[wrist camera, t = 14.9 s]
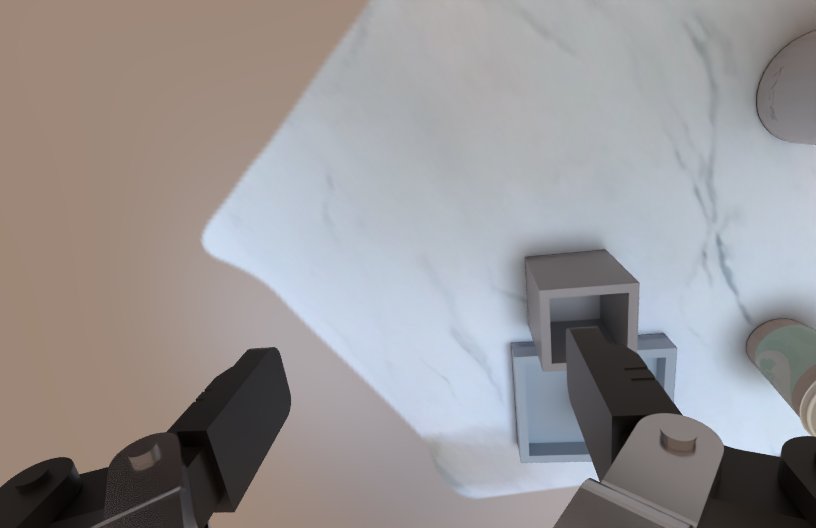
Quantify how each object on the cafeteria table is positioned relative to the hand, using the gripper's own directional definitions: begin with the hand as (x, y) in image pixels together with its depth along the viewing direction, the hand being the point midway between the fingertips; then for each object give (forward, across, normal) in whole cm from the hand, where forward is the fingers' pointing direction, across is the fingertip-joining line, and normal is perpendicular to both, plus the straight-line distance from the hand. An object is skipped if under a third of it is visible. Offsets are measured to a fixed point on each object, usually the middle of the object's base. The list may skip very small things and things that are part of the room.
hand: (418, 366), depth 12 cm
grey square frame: (+34, -11, +13) cm, 38 cm away
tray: (+34, -13, +26) cm, 45 cm away
